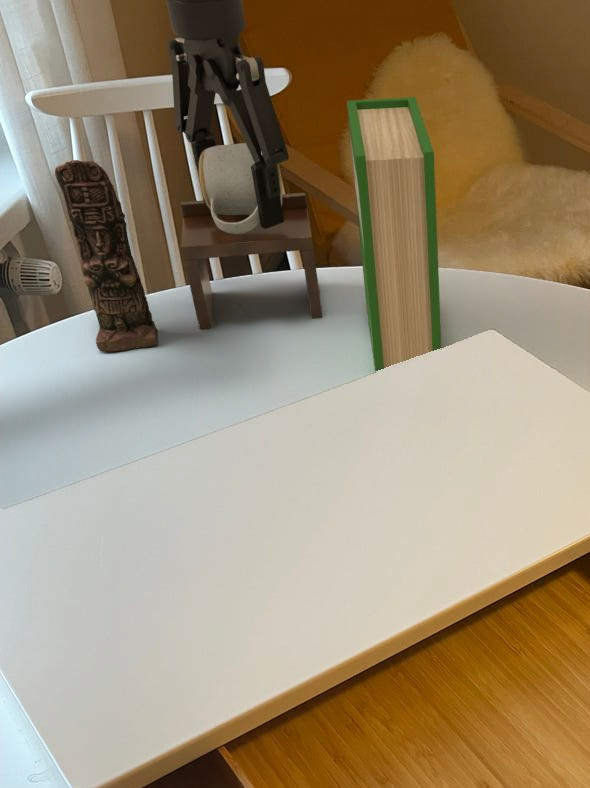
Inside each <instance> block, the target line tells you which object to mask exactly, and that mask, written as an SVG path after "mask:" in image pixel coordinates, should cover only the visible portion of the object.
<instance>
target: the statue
mask: <svg viewBox="0 0 590 788" xmlns="http://www.w3.org/2000/svg"><path fill="white" fill-rule="evenodd" d="M54 176H55V179H56V182H57V183H58V186H59V188H60V190H61V192H62V194H63V199H64V203H65V207H66V211H67V215H68V219H69V221H70V222H71V227H72V232H73V236H74V238H75V241H76V245H77V247H78V248H77V249H78V253H79V258H80V260H79V261H80V262H79V263H80V267H81V273H82V276H83V279H84V283H85V285H86V287H87V288H88V292H89V293H88V294H89V296H90V299H91V302H92V306H93V308H92V309H93V311H94V313H95V314H96V318H97V323H98V326H99V330H98V332H97V334H96V338H95V344H96V347H97V349H98V351H100V352H119V351H126V350H127V351H128V350H133V349H139V348H147V347H154V346H156V345H157V344H159V341H158V337H159V336H158V335H159V334H158V327H156V324H155V321H154V320H153V314H152V313H151V311H150V306H149V302H148V300H147V296H146V292H145V289H144V286H143V284H142V281H141V280H142V279H141V277H140V274H139V272H138V268H137V265H136V262H135V260H134V257H133V254H132V250H131V245H130V240H129V236H128V229H127V221H126V219H125V217H126V215H125V213H124V212H123V208H122V203H121V201H119V199H118V196H117V193H116V190H115V188H114V185H113V183H112V181H111V179H110V177H109V174H108V173H107V172H106V171H105V169H104V168H103V167H102V166H100V165H99V164H98V163H97V162H95V161H93V160H85V161H83V160H79V159H72V160H70V161H66V162H64V163H62V164H59V165H58V166H56V167H55V169H54Z"/></svg>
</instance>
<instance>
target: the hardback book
mask: <svg viewBox="0 0 590 788" xmlns="http://www.w3.org/2000/svg"><path fill="white" fill-rule="evenodd" d="M346 108H347V119H348V127H349V138H350V139H349V141H350V148H351V149H350V150H351V159H352V169H353V170H352V171H353V180H354V190H355V191H354V193H355V201H356V211H357V212H356V213H357V222H358V233H359V243H360V253H361V264H362V273H363V283H364V285H363V286H364V294H365V304H366V314H367V315H368V316H367V322H368V330H369V336H370V337H371V338H370V345H371V350H372V358H373V359H374V360H373V367H374V366H375V367H374V372H375V371H378V370H381V369H384V368H386V367H389V366H391V365H394V364H397V363H400V362H403V361H406V360H409V359H411V358H414V357H416V356H420V355H423V354H426V353H428V352H431V351H434V350H437V349H440V348H441V349H442V327H441V301H440V278H439V277H440V276H439V250H438V249H439V248H438V223H437V222H438V221H437V197H436V195H437V194H436V178H435V177H436V174H435V173H436V171H435V151H434V147H433V145H432V141H431V139H430V135H429V133H428V130H427V126H426V124H425V121H424V119H423V115H422V113H421V109H420V106H419V103H418V101H417V97H416V96H411V97H408V96H407V97H391V98H390V97H389V98H370V99H368V98H367V99H350V100H346Z"/></svg>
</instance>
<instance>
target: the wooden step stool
mask: <svg viewBox="0 0 590 788" xmlns="http://www.w3.org/2000/svg"><path fill="white" fill-rule="evenodd" d="M180 211H181V214H182V218H183V219H182V231H181V241H180V242H181V243H180V244H181V245H180V249H181V254H182V258H183V263H184V267H185V271H186V276H187V280H188V285H189V288H190V289H189V290H190V293H191V298H192V302H193V306H194V310H195V315H196V318H197V323H198V327H199V330H206V329H212V321H213V319H212V315H213V290H212V285H211V281H210V276H209V271H208V266H207V261H206V259H213V258H227V257H228V258H229V257H238V256H251V255H252V256H253V255H263V254H264V255H265V254H274V253H275V254H276V253H286V252H296V251H297V252H299V251H301V255H302V262H303V269H304V277H305V284H306V291H307V297H308V305H309V311H310V319H313V320H314V319H320V318H321V319H322V318H323V311H322V310H323V309H322V301H321V296H320V288H319V280H318V273H317V265H316V257H315V250H314V243H313V235H312V234H313V233H312V229H311V224H310V223H311V222H310V216H309V211H308V202H307V195H306V192H295V193H294V192H293V193H282V213H283V219H284V222H283V223H280V224H278V225H275V226H272V227H270V228H267V229H264V228H262V227H261V223H259V224H258V225H257V226H256V227H255V228H254V229H252V230H250V231H248V232H246V233H242V234H231V233H227V232H224V231H222V230H221V229H219V228H218V227H217V225H216V224H215V221H214V219H213V217H212V213H211V210H210V209H209V207H208V206H207V204H206V203H204V200H191V201H190V200H189V201H181V202H180ZM249 216H250V215H221V214H217V217H218V218H219V219H220V220H222V221H224V222H228V223H237V222H241V221H243V220H245V219H246V218H248V217H249Z"/></svg>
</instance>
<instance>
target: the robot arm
mask: <svg viewBox="0 0 590 788" xmlns="http://www.w3.org/2000/svg"><path fill="white" fill-rule="evenodd" d="M165 3H166V6H167V12H168V17H169V21H170V26H171V30H172V32H173V34H175V36H176V37H177V38H173V39H169V40H167V42H166V43H167V44H166V45H167V49H168V54H169V58H170V62H171V77H172V78H171V79H172V93H173V94H172V95H173V113H174V127H175V130H176V131H177V132H178V133H179V134H182V133H183V134H185V135H184V136H185V138H186V140H187V142H188V143H190V145H191V150H192V155H193V159H194V165H195V167H196V171H197V177H198V180H199V182H200V179H199V159H200V156H201V153H202V152H203V151H204V150H205V149H208V148H210V147H214V146H217V143H216V140H215V139H213V138H210V137H213V136H215V133H214V132H213V130H212V129H211V126H212V120H213V113H214V106H215V100H216V94H217V95H218V96H219V98H220V100H221V102H222V103H223V104H224V105H225V106H228V108H229V110H230V113H231V115H232V116H233V119H234V121H235V123H236V125H237V127H238V130H239V131H240V134H241V136H242V138H243V141H244V143H246V145H247V147H248V149H249V151H250V153H251V156H252V158H253V160H254V162H255V164H253V165H252V166H251V171H252V177H253V182H254V188H255V194H256V200H257V206H258V211H259V217H260V223H261V227H262V228H264V229H267V228H270V227H272V226H275V225H278V224H280V223H283V222H284V219H283V213H282V206H281V200H280V192H281V191H280V186H279V185H280V184H279V178H278V171H277V164H278V165H279V164H281V163H284V162H287V161H289V157H290V156H289V152H288V149H287V146H286V142H285V139H284V135H283V133H282V130H281V126H280V123H279V120H278V117H277V113H276V110H275V107H274V105H273V104H274V103H273V102H272V98H271V94H270V91H269V87H268V85H267V82H266V72H265V67H264V61H263V58H261V56H260V55H256V56H253V57H248V56H246V55H245V54H244V52H243V50H242V48H241V44H240V41H239V38H240V35H241V34H242V33H243V32H244V31H245V29H246V18H245V13H244V6H243V0H165ZM239 87H240V89H239ZM185 117H186V118H185ZM208 138H209V139H208ZM261 152H262V155H261ZM199 186H200V187H201V185H200V184H199ZM200 190H201V194H202V199H203V200H204V203H206V202H205V199H204V197H203V193H202V189H201V188H200Z"/></svg>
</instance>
